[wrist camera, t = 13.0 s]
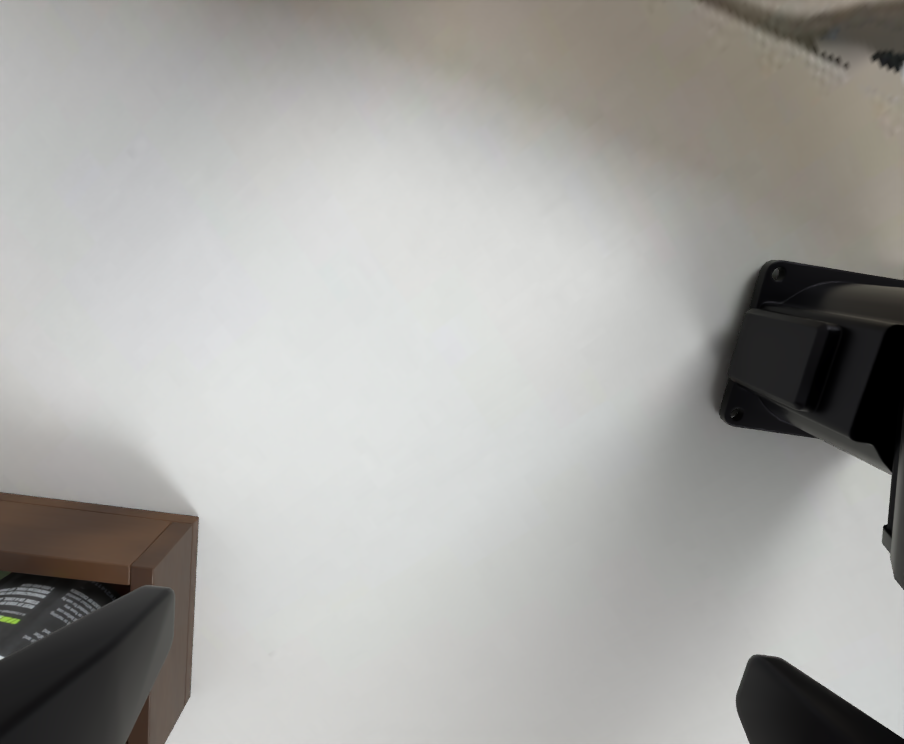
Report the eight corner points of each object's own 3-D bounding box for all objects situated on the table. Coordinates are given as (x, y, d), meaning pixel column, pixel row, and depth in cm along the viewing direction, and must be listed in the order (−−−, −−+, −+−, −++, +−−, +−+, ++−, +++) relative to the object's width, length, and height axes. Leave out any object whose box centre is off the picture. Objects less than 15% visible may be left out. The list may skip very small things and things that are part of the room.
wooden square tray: (199, 516, 22) (153, 568, 18) (190, 696, 24) (148, 774, 20) (-32, 487, 21) (-126, 536, 17) (-20, 675, 23) (-101, 752, 20)
